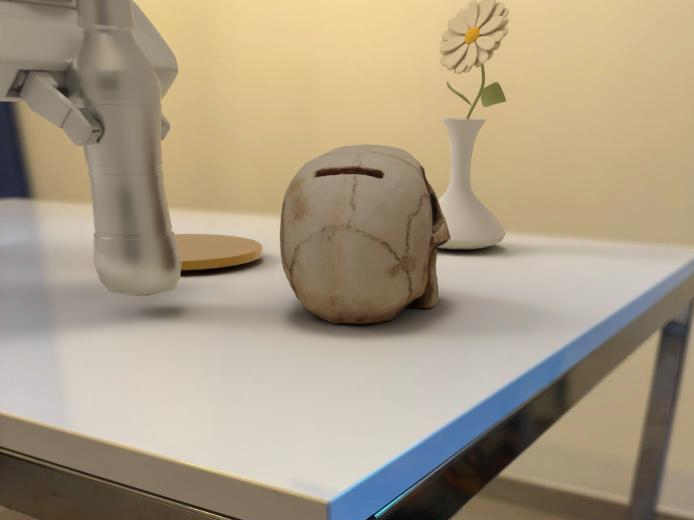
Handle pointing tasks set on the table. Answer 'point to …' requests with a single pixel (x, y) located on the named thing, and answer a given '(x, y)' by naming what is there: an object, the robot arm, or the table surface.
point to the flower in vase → (470, 121)
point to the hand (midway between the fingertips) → (128, 137)
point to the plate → (215, 251)
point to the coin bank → (362, 234)
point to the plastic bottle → (123, 153)
